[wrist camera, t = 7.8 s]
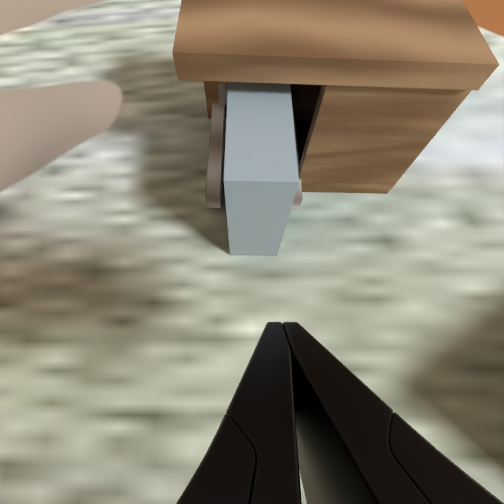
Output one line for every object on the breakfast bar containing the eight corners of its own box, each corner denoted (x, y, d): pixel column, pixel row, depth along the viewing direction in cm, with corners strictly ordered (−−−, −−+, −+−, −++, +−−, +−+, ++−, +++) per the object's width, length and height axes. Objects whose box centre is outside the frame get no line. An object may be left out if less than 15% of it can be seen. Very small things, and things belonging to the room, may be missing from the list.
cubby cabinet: (396, 211, 26) (518, 82, 15) (201, 207, 25) (169, 70, 14) (370, 109, 32) (445, -41, 20) (209, 104, 31) (191, -54, 19)
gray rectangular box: (276, 256, 24) (299, 182, 15) (218, 255, 24) (204, 180, 14) (270, 122, 30) (283, 13, 21) (225, 120, 30) (218, 9, 21)
